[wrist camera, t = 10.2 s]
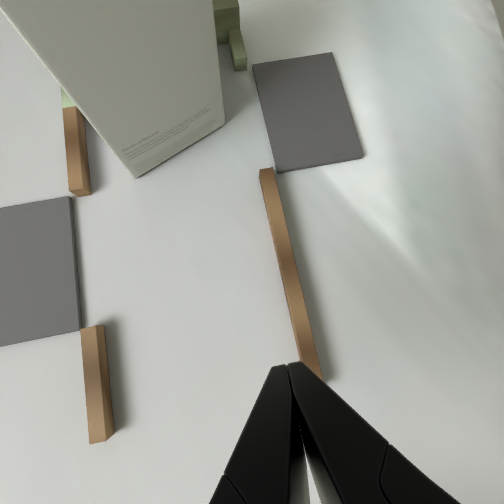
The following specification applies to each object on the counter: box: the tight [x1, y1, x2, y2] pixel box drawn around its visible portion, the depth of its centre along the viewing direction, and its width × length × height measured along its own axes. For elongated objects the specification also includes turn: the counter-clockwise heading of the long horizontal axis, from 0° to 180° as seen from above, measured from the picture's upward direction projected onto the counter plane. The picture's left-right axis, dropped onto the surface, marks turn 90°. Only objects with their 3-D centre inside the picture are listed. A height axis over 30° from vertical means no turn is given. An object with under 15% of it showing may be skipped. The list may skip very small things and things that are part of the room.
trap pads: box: [0, 52, 364, 347], centre depth 23 cm, size 19×30×1 cm, turn 101°
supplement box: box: [0, 0, 225, 178], centre depth 18 cm, size 9×9×15 cm
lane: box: [61, 0, 323, 444], centre depth 22 cm, size 30×15×3 cm, turn 12°
